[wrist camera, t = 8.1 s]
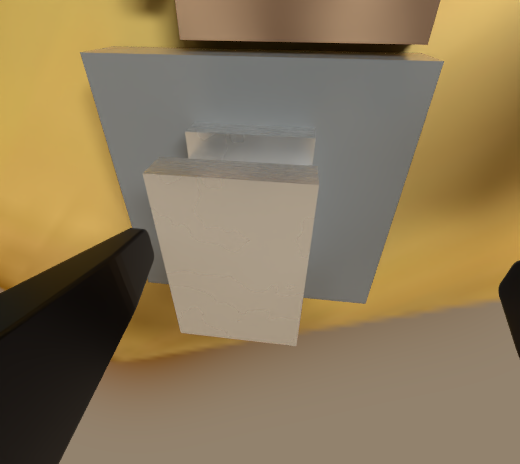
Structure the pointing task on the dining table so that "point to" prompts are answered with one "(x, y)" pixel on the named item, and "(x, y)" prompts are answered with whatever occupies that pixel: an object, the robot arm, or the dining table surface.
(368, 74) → the stand
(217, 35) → the stand
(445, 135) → the dining table surface
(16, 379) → the robot arm
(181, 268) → the block
